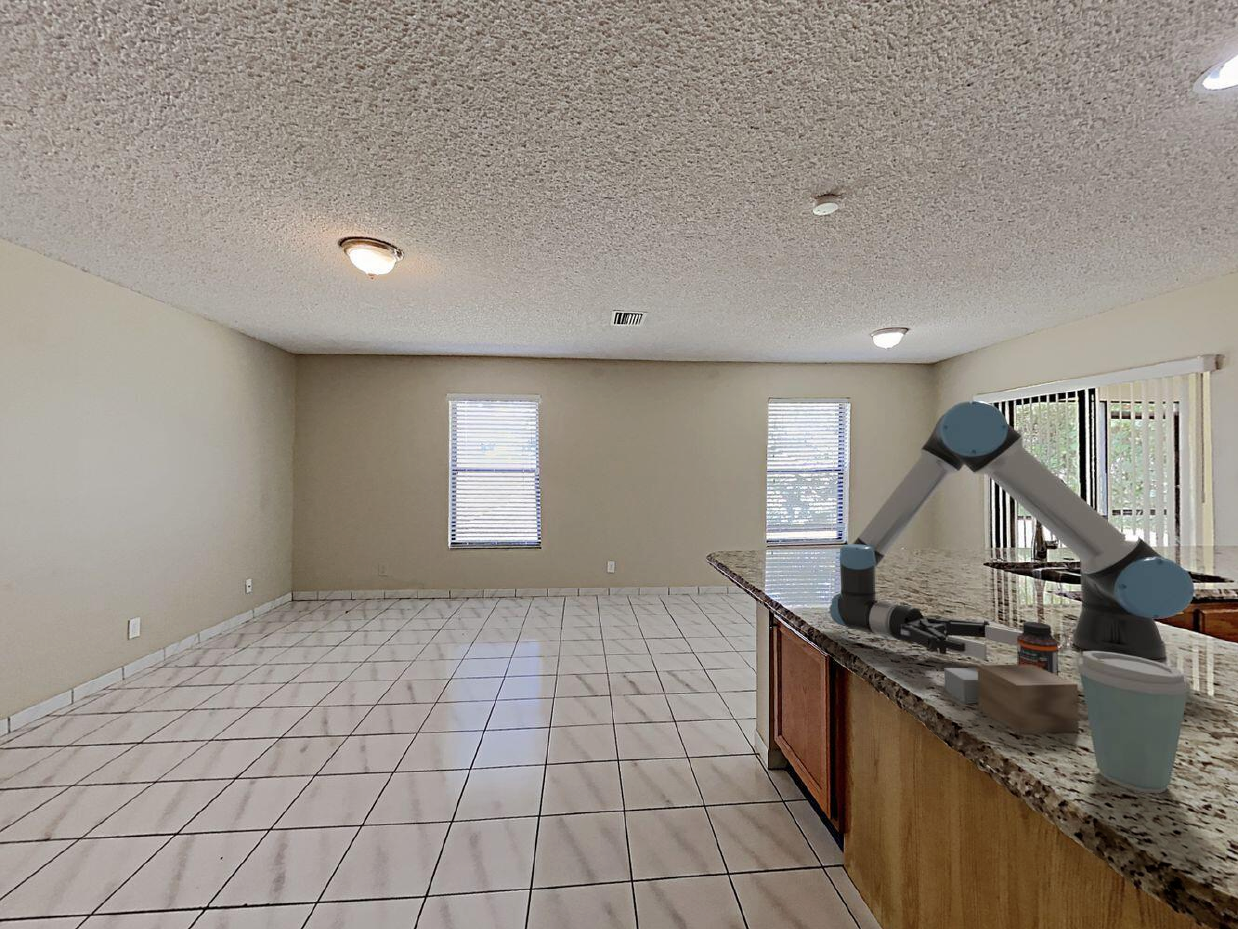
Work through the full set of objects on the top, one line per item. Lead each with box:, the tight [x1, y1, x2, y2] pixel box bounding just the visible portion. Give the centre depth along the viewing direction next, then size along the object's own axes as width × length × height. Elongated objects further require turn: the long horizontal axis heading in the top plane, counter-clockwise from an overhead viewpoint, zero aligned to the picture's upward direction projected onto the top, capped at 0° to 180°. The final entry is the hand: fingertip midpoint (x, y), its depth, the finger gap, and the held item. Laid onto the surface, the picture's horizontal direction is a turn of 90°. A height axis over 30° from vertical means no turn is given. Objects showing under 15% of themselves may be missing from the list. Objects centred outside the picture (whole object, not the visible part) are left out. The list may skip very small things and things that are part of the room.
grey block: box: [943, 667, 979, 704], centre depth 98 cm, size 6×6×4 cm
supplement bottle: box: [1016, 621, 1059, 676], centre depth 102 cm, size 6×6×11 cm
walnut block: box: [977, 664, 1080, 735], centre depth 88 cm, size 9×9×7 cm
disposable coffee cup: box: [1076, 650, 1192, 794], centre depth 70 cm, size 11×11×15 cm
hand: (1004, 645), depth 106 cm, fingers open, 13 cm apart
